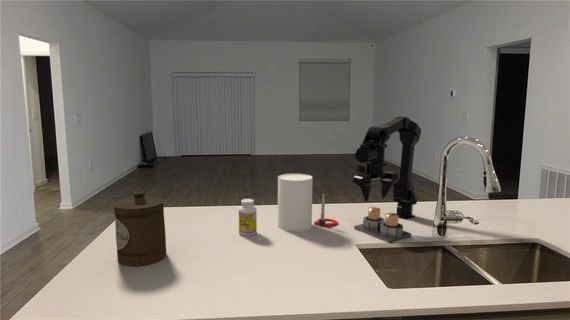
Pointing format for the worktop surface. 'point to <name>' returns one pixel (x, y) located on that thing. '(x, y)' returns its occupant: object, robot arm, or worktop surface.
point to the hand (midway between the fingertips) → (374, 199)
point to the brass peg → (373, 214)
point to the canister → (295, 202)
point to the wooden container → (140, 230)
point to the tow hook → (322, 221)
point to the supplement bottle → (247, 218)
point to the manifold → (384, 228)
